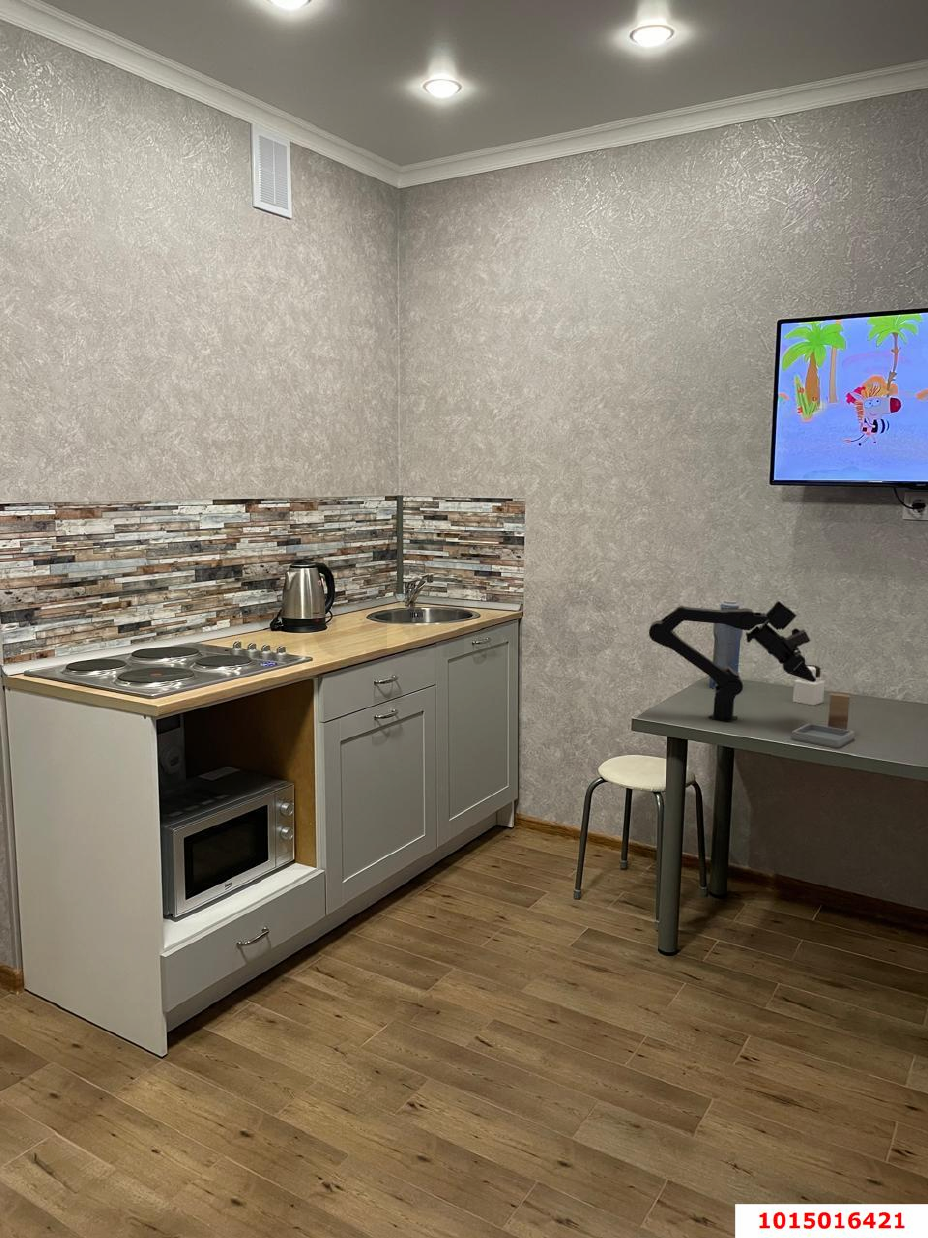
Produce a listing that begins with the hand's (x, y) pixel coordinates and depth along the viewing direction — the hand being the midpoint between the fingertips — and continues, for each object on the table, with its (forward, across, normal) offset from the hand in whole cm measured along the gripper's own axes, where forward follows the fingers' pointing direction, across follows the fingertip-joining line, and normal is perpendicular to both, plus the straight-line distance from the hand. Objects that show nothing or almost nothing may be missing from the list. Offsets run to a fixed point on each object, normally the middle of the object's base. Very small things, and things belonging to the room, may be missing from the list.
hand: (813, 677), depth 268 cm
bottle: (-9, +44, +26) cm, 52 cm away
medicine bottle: (+11, +31, +9) cm, 34 cm away
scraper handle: (+14, -5, +7) cm, 17 cm away
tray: (+10, -15, +10) cm, 21 cm away
